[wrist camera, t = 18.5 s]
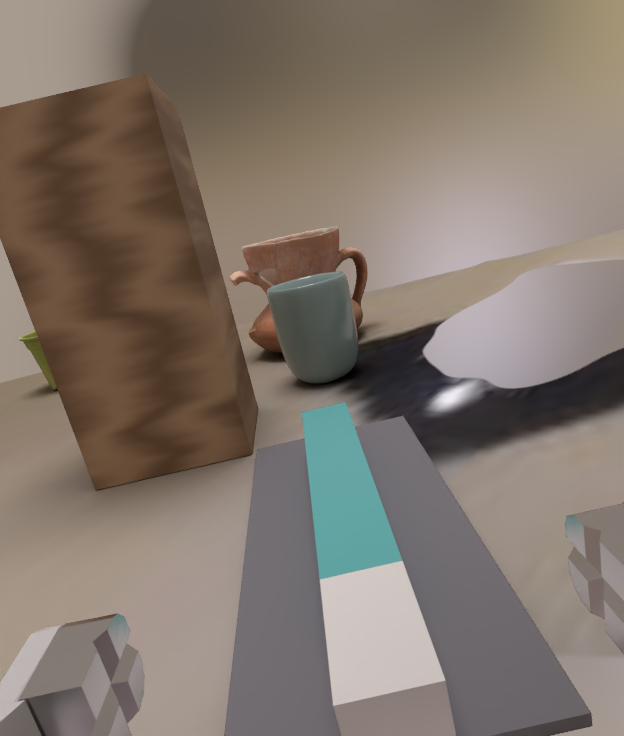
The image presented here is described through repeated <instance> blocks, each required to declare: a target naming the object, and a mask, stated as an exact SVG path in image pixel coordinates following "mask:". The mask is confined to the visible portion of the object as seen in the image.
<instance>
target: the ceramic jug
mask: <svg viewBox="0 0 624 736" xmlns="http://www.w3.org/2000/svg"><path fill="white" fill-rule="evenodd" d="M242 251H243V254H244V257H245V260H246V262H247V264H248V266H249V270H248V271H244V270H241V271H237V272H235V273H233V274H232V275H231V276H230V277H229V278H230V280H231V282H232V283H233V284H234V285H235V286H236V285H238V284H239V283H241V282H244V281H245V282H250V283H253V284H255V285H258V286H260V287H261V288H262V289H263V290H264V292H265V293H266V294H267V289H268V288H270V287H272V286H275V285H278V284H281V283H284V282H287V281H291V280H294V279H298V278H302V277H306V276H311V275H316V274H322V273H328V272H335V271H336V268H337V267H338V266H339V264H340V263H341V262H342V261H343V260H345V259H347V258H352V259H353V261H354V263H355V265H356V273H357V279H356V285H355V290H354V294H353V297H352V299H351V300H352V305H353V310H354V316H355V321H356V328H358V327H359V326H360V324H361V322H362V318H363V313H362V309H361V299H362V295H363V292H364V289H365V286H366V281H367V264H366V260H365V257H364V256H363V254H362V253H361V252H360V251H359V250H358V249H355V248H351V247H347V248H344V249H342V250H340V251H339V229H338V227H336V226H333V227H330V228H326V229H325V228H321V229H318V230H314V231H307V232H303V233H299V234H293V235H289V236H286V237H285V236H284V237H279V238H275V239H271V240H267V241H264V242H259V243H256V244H253V245H247V246H243V247H242ZM249 336H250V338H251V339H252V340H253V341H254V342H255V343H257V344H258V345H259V346H261V347H262V348H264V349H266V350H269V351H273V352H278V353H282V350H281V347H280V344H279V341H278V338H277V334H276V330H275V326H274V323H273V319H272V314H271V310H270V306H269V304H268V305H267V307H266V308H265V309H264V310H263V311H262V312H261V314H260V315H259V316H258V317H257V318H256V320H255V322H254V324H253V327H252V328H251V329H250V331H249Z"/></svg>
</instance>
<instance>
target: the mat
mask: <svg viewBox="0 0 624 736" xmlns="http://www.w3.org/2000/svg"><path fill="white" fill-rule="evenodd" d="M355 430H356V433H357V436H358V438H359V441H360V444H361V447H362V450H363V452H364V455H365V458H366V461H367V463H368V466H369V469H370V472H371V475H372V477H373V480H374V483H375V486H376V488H377V491H378V494H379V497H380V500H381V502H382V505H383V508H384V511H385V513H386V516H387V519H388V522H389V525H390V527H391V530H392V533H393V536H394V538H395V541H396V544H397V547H398V550H399V552H400V555H401V558H402V561H403V563H404V566H405V569H406V572H407V575H408V577H409V580H410V583H411V586H412V588H413V591H414V594H415V597H416V600H417V602H418V605H419V608H420V611H421V613H422V616H423V619H424V622H425V625H426V627H427V630H428V633H429V636H430V638H431V641H432V644H433V647H434V650H435V652H436V655H437V658H438V661H439V663H440V666H441V669H442V672H443V675H444V677H445V680H446V685H447V690H448V696H449V701H450V706H451V711H452V716H453V722H454V727H455V732H456V736H550V735H555V734H559V733H564V732H568V731H572V730H577V729H581V728H586V727H590V726H592V717H591V712H590V710H589V709H588V707H587V706H586V704H585V702H584V701H583V699H582V698H581V696H580V695H579V693H578V692H577V690H576V688H575V687H574V685H573V684H572V682H571V680H570V679H569V677H568V676H567V674H566V672H565V671H564V669H563V668H562V666H561V665H560V663H559V661H558V660H557V658H556V657H555V655H554V654H553V652H552V650H551V649H550V647H549V646H548V644H547V642H546V641H545V639H544V638H543V636H542V635H541V633H540V631H539V630H538V628H537V627H536V625H535V624H534V622H533V620H532V619H531V617H530V616H529V614H528V612H527V611H526V609H525V608H524V606H523V605H522V603H521V601H520V600H519V598H518V597H517V595H516V594H515V592H514V590H513V589H512V587H511V586H510V584H509V582H508V581H507V579H506V578H505V576H504V575H503V573H502V571H501V570H500V568H499V567H498V565H497V564H496V562H495V560H494V559H493V557H492V556H491V554H490V552H489V551H488V549H487V548H486V546H485V545H484V543H483V541H482V540H481V538H480V537H479V535H478V534H477V532H476V530H475V529H474V527H473V526H472V524H471V522H470V521H469V519H468V518H467V516H466V515H465V513H464V511H463V510H462V508H461V507H460V505H459V504H458V502H457V500H456V499H455V497H454V496H453V494H452V492H451V491H450V489H449V488H448V486H447V485H446V483H445V481H444V480H443V478H442V477H441V475H440V474H439V472H438V470H437V469H436V467H435V466H434V464H433V462H432V461H431V459H430V458H429V456H428V455H427V453H426V451H425V450H424V448H423V447H422V445H421V444H420V442H419V440H418V439H417V437H416V436H415V434H414V432H413V431H412V429H411V428H410V426H409V425H408V423H407V421H406V420H405V418H404V417H403V416H401V417H396V418H392V419H388V420H383V421H379V422H375V423H370V424H366V425H362V426H357V427H355ZM224 736H341V733H340V729H339V726H338V722H337V718H336V715H335V711H334V707H333V700H332V690H331V681H330V672H329V662H328V653H327V644H326V634H325V625H324V616H323V606H322V597H321V587H320V578H319V569H318V559H317V550H316V541H315V531H314V522H313V513H312V503H311V494H310V484H309V475H308V466H307V456H306V447H305V439H301V440H296V441H292V442H288V443H283V444H279V445H275V446H270V447H266V448H261V449H257V452H256V461H255V469H254V478H253V487H252V496H251V505H250V513H249V522H248V531H247V540H246V549H245V557H244V566H243V575H242V584H241V593H240V601H239V610H238V619H237V628H236V637H235V646H234V654H233V663H232V672H231V681H230V690H229V698H228V707H227V716H226V725H225V734H224Z"/></svg>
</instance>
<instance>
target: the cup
mask: <svg viewBox="0 0 624 736" xmlns="http://www.w3.org/2000/svg"><path fill="white" fill-rule="evenodd" d="M267 297H268V302H269V306H270V310H271V314H272V319H273V323H274V326H275V330H276V334H277V338H278V341H279V344H280V347H281V350H282V353H283V356H284V358H285V361H286V363H287V365H288V367H289V368H290V370H291V372H292V373H293V374H294V375H295V376H296V377H297V378H298V379H300V380H302V381H304V382H307V383H313V384H318V383H326V382H331V381H334V380H337V379H339V378H341V377H343V376H345V375H346V374H348V373H349V372H350V371H351V370H352V369H353V367H354V365H355V363H356V361H357V356H358V336H357V328H356V321H355V316H354V310H353V305H352V300H351V295H350V290H349V286H348V281H347V278H346V275H345V273H344V272H328V273H322V274H316V275H311V276H306V277H302V278H298V279H294V280H291V281H287V282H284V283H281V284H278V285H275V286H272V287H270V288H268V289H267Z"/></svg>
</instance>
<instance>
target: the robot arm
mask: <svg viewBox="0 0 624 736" xmlns="http://www.w3.org/2000/svg"><path fill="white" fill-rule="evenodd" d="M565 531H566V537H567V538H568V539H569V540H570V542H571V543H572V544H573V545H574V546H575V547H574V548H573V550H572V552H571V554H570V555H569V557H568V562H569V569H570V575H571V578H572V581H573V584H574V587H575V589H576V591H577V593H578V595H579V597H580V599H581V600H582V602H583V603H584V605H585V606H586V607H587V608H588V610H589V611H590V612H591V613H592V614H595V615H597V616H599V617H601V618H603V619H605V622H606V633H607V634H608V635H609V636H610V638H611V639H612V640H613V641H614V643H615V644H616V645H617V646H618V648H619V649H620V650H621V651H622V653H623V654H624V502H622V504H618V505H614V506H609V507H605V508H600V509H596V510H592V511H587V512H583V513H578V514H574V515H569V516H567V517H566V522H565ZM129 634H130V629H129V627H128V624H127V622H126V620H125V617H124V616H122V615H120V614H113V615H108V616H103V617H98V618H92V619H87V620H82V621H77V622H72V623H67V624H65V625H57V626H53V627H48V628H43V629H39V630H37V631H36V632H34V633H32V634H31V635H30V637H29V638H28V640H27V641H26V643H25V645H24V646H23V648H22V649H21V651H20V653H19V654H18V656H17V657H16V659H15V660H14V662H13V664H12V665H11V667H10V668H9V670H8V671H7V673H6V675H5V676H4V678H3V679H2V681H1V683H0V736H132V735H131V732H130V730H129V727H128V725H127V723H128V722H129V721H130V720H131V719H132V718H133V717H134V716H135V714H136V713H137V712H138V711H139V709H140V706H141V702H142V698H143V695H144V677H145V676H144V670H143V664H142V661H141V658H140V655H139V652H138V651H137V650H136V649H134V648H133V647H131V646H130V645H128V644H127V643H126V642H127V639H128V637H129Z"/></svg>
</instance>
